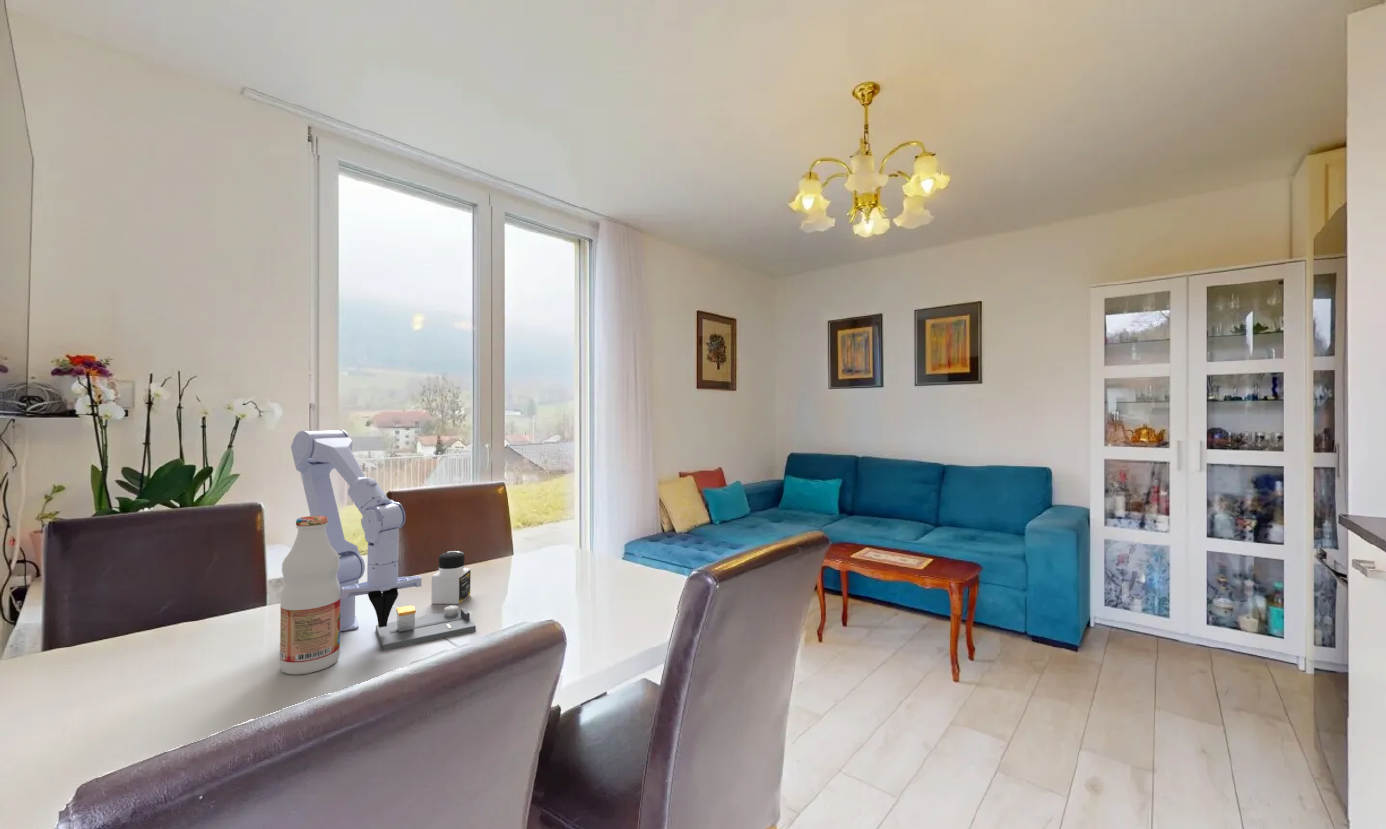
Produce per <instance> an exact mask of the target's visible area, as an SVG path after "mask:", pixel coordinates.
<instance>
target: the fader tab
mask: <svg viewBox="0 0 1386 829" xmlns="http://www.w3.org/2000/svg"><path fill="white" fill-rule="evenodd" d="M395 610H396V621H397V629H398V631H399V632H401V631H406V630H411V629H415V618H416V608H415V606H414V605H407V606H406V605H405V606H401V607H396V609H395Z"/></svg>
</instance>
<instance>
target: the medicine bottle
mask: <svg viewBox="0 0 1386 829" xmlns="http://www.w3.org/2000/svg"><path fill="white" fill-rule="evenodd" d="M465 558H466V557H465V553H464V552H462V551H459V550H457V551H456V550H452V551H446V552H443V553H441V554H440V555H439V556H438V571H437V572H436V573H435V574H433V575H432V576H431V599H430V600H431V602H430V603H431V604H432V605H460V604H461V603H462V602H463V601H465V600H466V599H468V597H470V595H471V575H472V574H471V570H472V569H471V568H469V567H468V568H467V567H465Z"/></svg>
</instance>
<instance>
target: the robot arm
mask: <svg viewBox="0 0 1386 829" xmlns="http://www.w3.org/2000/svg"><path fill="white" fill-rule="evenodd" d="M290 447H291V454H292V457H293V462H294V467H295V469H296V472H299V473H300V477H301V481H302V485H303V491H304V494H305V497H306V503H307V507H308V512H309V516H326V517H327V521H328V522H327V526H326V527H325V530H326V534H327V537H328V539H329V542H330V544H331V546H332V547H333V548H334V549H335V551H336V552H337V553H338V555H339V558H340V565H339V569H338V572H337V579H338V581H339V583H340V594H341V596H340V632H344V631H350V630H351V631H352V630H356V629H358V628H359V622H358V619H357V616H356V597H357V596H362V595H367V596H368V599H369V601H370V603H371V606H372V607H373V608H374V612H375V614H376V618H377V625H378V626H379V628H380V627H386V626H387V623H388V621H389V617H390V614H391V610H392V609H393V606H394V605H395V602H396V600H397V598H398V596H399V591H398V590H400V589H401V590H402V589H407V588H408V589H409V588H413V587H415V588H418V587H422V577H421V575H413V576H399V555H400V554H399V553H400V552H399V547H400V546H399V545H400V543H399V540H400V539H399V537H400V535H399V534H400V530H399V529H401V528H402V527H403V526H404V525H405V522H406V512H405V509H404V507H403V505H402V504H401V503H400V502H397V501H395V500H393V499H390V498H389V497H388V496H387V494H386V493H385V492H384V491H383V489H382V488H381V486H380V485H379V483H378V482H377V481H376V479H375V478H373V477H368V476H367V477H366V475H365V473H364V471H363V469H362V468H361V466H360V464H359V462H358V461H357V459H356V458H355V455H354V453H353V452H352V450H353V440H352V439H351V437H350V434H348V432H347V431H346V430H344V429H337V430H334V429H333V430H308V431H307V430H299V431H298V432H297V433H296V434H295V436H294V438H293V440H292V443H291V445H290ZM334 469H335V470H336V472H337V473H338V474H339V476H341V478H342V479H343V480H344V481H345V482H346V484H348V485H349V488H348V490H347V494H348V496H349V498H350V499H351V501H352V502H353V504H354V505H355V507H356V508H357V510H358V511H359V513H360V514H361V515H362V518H360V524H361V528H362V529H363V532H364V539H365V542H366V543H367V568H366V563H365V561H364V558H363V556H362V555H361V554H360V552H359V548H358V546H357V545H356V544H354V543H352V542H349V541H348V540H347V539H345V536H344V535H345V534H344V531H343V526H342V523H341V522H342V521H341V518H340V514H339V513H340V512H339V508H338V505H337V501H336V498H335V493H334V489H333V484H332V479H331V476H330V474H331V472H332V470H334ZM365 570H367V573H366V574H367V575H366V576H367V578H366V580H367V581H364V582H360V579H362V577H363V576H364V573H365ZM359 582H360V583H359Z"/></svg>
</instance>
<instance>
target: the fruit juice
mask: <svg viewBox="0 0 1386 829" xmlns="http://www.w3.org/2000/svg"><path fill="white" fill-rule="evenodd" d="M327 522H328V521H327V517H326V516H310V515H309V516H301V517H298V518H296V521H295V525H296V526H295V527H296V529H297V535H296V538H295V541H294V542H293V546H292V548H291V549H290V551H289V552H288V554H287V555H286V557H284V559H283V561H282V565H281V574H282V577H283V580H284V585H283V587H282V590H281V594H280V601H279V602H280V603H279V604H280V605H279V606H280V616H279V617H280V619H279V620H280V627H279V628H280V632H279V633H280V634H279V635H280V636H279V640H280V641H279V642H280V643H279V644H280V645H279V646H280V647H279V648H280V649H279V666H280V670H281V672H283V673H284V674H287V675H296V676H297V675H305V674H306V675H307V674H311V673H315V672H318V671H322V670H324V669H327V668H328V667H331V666H332V665H335V663H337V661H339V658H340V653H341V631H340V596H341V594H340V583H339V581H338V579H337V572H338V569H339V565H340V558H339V555H338V553H337V552H336V551H335V549H334V548H333V547H332V546H331V544H330V542H329V539H328V537H327V534H326V530H325V527H326V526H327Z"/></svg>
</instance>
